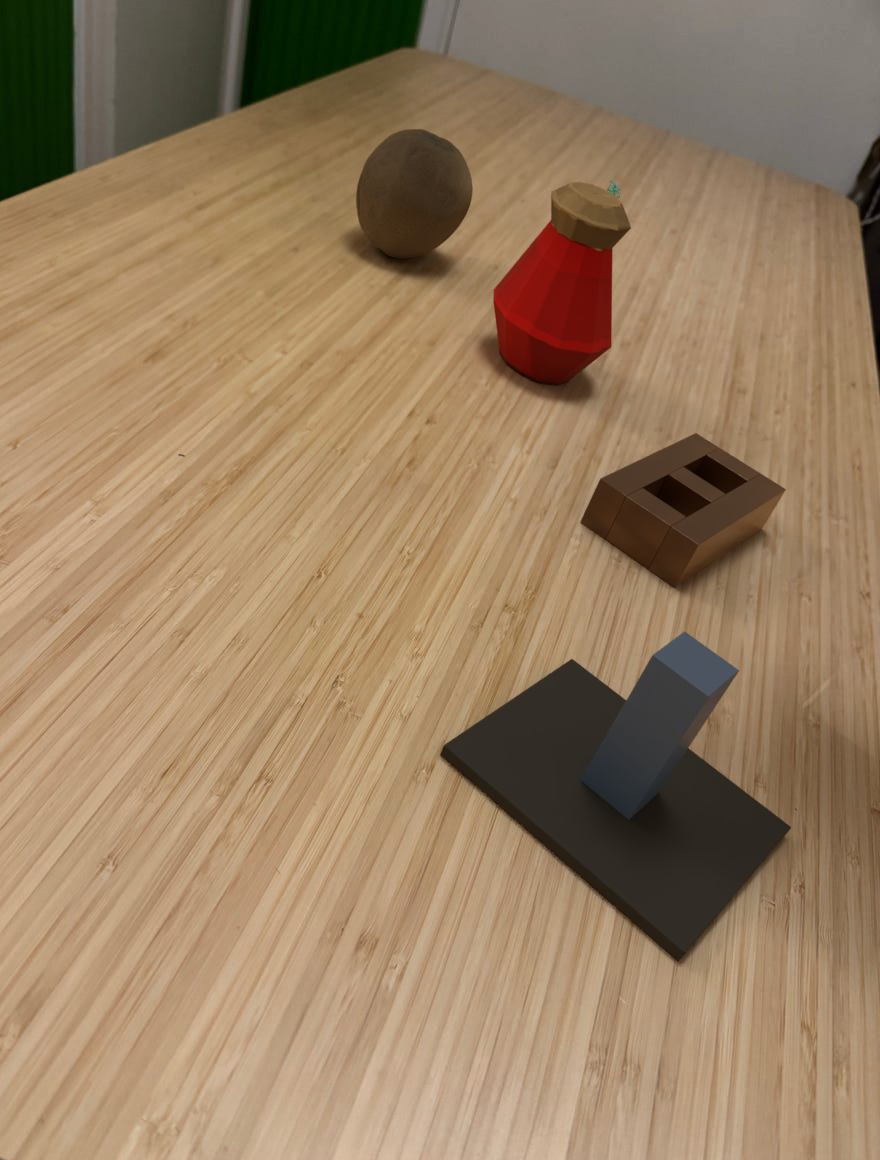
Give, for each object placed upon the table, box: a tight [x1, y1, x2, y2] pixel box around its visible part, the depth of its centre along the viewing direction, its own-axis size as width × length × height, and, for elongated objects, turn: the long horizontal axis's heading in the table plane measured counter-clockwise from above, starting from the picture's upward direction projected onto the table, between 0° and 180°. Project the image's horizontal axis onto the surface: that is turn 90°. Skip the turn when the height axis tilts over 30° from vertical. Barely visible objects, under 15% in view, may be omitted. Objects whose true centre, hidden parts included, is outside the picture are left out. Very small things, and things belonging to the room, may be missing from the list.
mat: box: [439, 658, 792, 962], centre depth 72 cm, size 20×16×1 cm
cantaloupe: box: [355, 128, 474, 259], centre depth 132 cm, size 14×14×15 cm
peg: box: [581, 631, 740, 820], centre depth 68 cm, size 4×4×12 cm
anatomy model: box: [583, 179, 622, 200], centre depth 174 cm, size 5×8×7 cm
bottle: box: [492, 181, 632, 387], centre depth 116 cm, size 16×14×20 cm
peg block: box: [580, 432, 787, 588], centre depth 101 cm, size 11×19×5 cm, turn 137°
